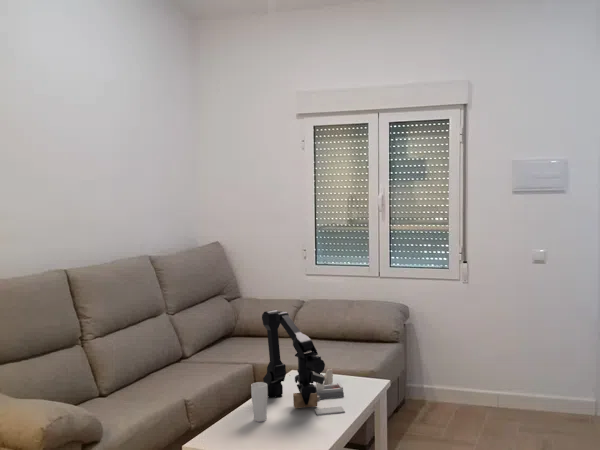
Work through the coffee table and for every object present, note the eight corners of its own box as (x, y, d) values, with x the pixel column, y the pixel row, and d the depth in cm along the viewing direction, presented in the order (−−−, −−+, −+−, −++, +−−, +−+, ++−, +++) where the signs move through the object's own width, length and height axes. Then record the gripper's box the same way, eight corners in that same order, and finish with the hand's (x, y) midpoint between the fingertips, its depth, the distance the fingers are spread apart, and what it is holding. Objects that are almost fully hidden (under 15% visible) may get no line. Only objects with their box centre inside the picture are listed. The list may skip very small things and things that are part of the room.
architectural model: (321, 385, 297) (321, 370, 296) (327, 381, 303) (327, 366, 303) (327, 386, 295) (327, 371, 295) (333, 382, 301) (333, 367, 301)
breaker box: (315, 399, 276) (315, 390, 276) (311, 392, 285) (311, 384, 285) (343, 396, 278) (343, 388, 278) (338, 390, 287) (338, 382, 287)
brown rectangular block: (294, 408, 263) (294, 395, 263) (293, 405, 266) (293, 393, 266) (320, 405, 265) (319, 393, 265) (318, 403, 268) (318, 391, 268)
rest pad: (317, 415, 256) (317, 413, 256) (314, 410, 262) (314, 408, 262) (345, 412, 259) (344, 411, 259) (341, 407, 264) (341, 406, 264)
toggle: (317, 392, 279) (317, 383, 279) (316, 389, 283) (315, 380, 282) (324, 391, 279) (324, 382, 279) (322, 389, 283) (322, 380, 283)
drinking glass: (256, 424, 249) (254, 388, 248) (249, 419, 255) (248, 383, 254) (271, 420, 252) (269, 385, 251) (264, 415, 258) (263, 380, 257)
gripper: (327, 372, 257) (328, 408, 258) (318, 360, 275) (319, 394, 276) (301, 374, 255) (302, 411, 256) (294, 362, 273) (295, 396, 274)
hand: (305, 403), depth 266 cm, fingers closed on brown rectangular block, 3 cm apart
